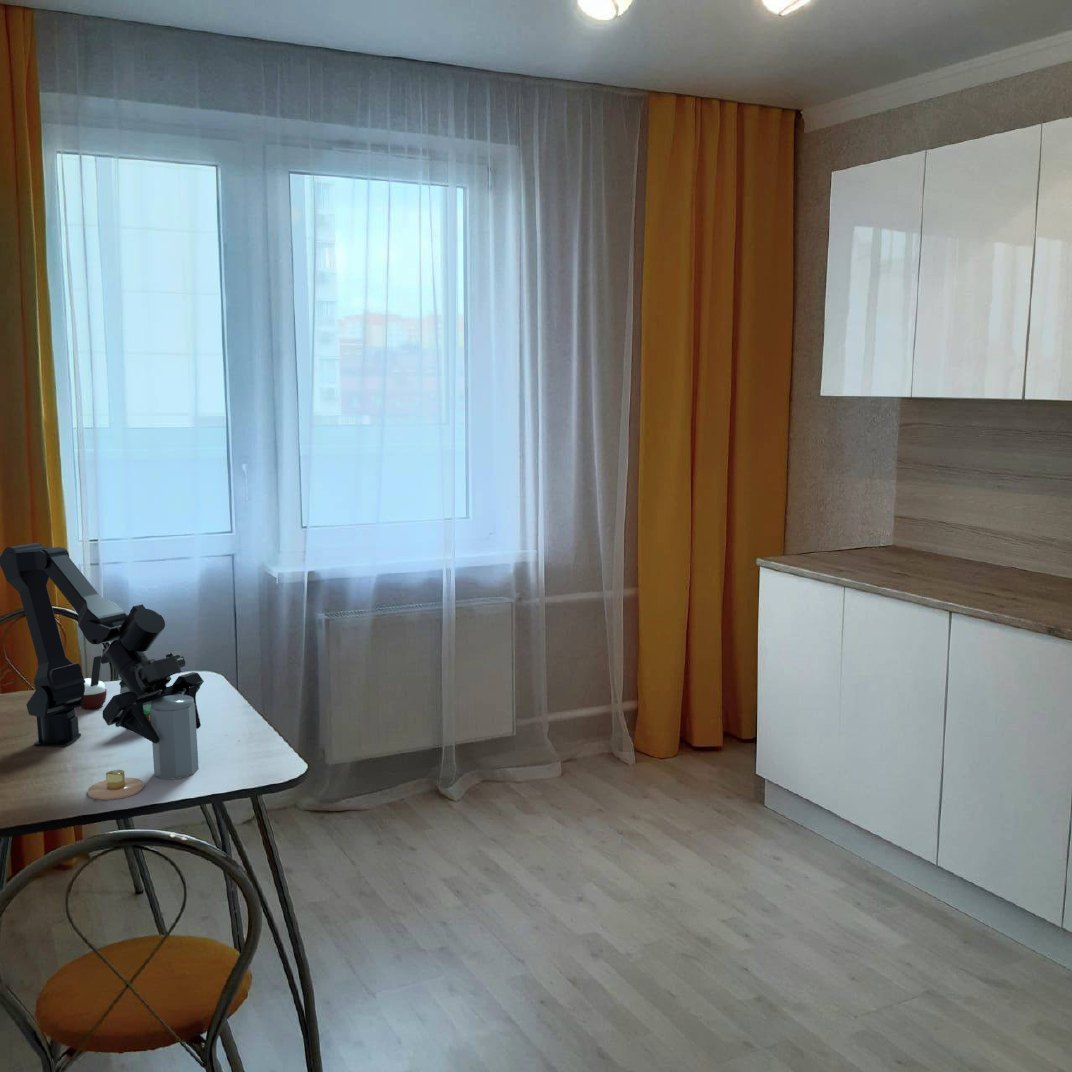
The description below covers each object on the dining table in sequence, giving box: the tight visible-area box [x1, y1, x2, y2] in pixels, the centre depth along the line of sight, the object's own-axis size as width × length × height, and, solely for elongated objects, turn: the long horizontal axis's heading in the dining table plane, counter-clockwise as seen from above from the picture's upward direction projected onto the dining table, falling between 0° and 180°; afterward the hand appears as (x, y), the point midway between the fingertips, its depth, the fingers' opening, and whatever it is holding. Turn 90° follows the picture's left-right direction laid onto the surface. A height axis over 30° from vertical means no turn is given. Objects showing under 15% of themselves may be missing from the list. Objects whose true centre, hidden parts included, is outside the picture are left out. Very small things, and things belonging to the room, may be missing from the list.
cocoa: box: [80, 655, 107, 711], centre depth 230 cm, size 10×6×12 cm, turn 24°
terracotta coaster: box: [87, 776, 145, 801], centre depth 184 cm, size 9×9×1 cm
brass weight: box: [105, 769, 126, 790], centre depth 184 cm, size 3×3×2 cm
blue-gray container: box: [150, 695, 200, 780], centre depth 191 cm, size 7×7×13 cm
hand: (178, 734), depth 191 cm, fingers open, 9 cm apart
